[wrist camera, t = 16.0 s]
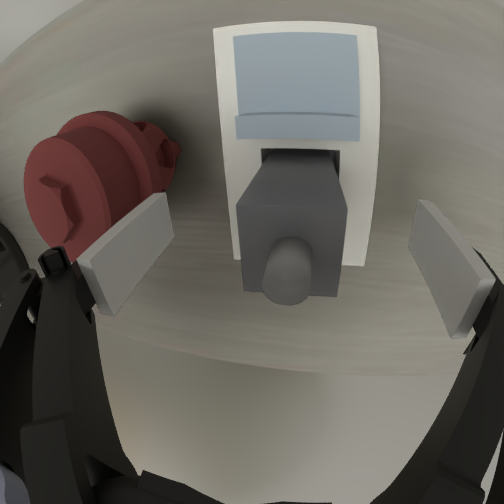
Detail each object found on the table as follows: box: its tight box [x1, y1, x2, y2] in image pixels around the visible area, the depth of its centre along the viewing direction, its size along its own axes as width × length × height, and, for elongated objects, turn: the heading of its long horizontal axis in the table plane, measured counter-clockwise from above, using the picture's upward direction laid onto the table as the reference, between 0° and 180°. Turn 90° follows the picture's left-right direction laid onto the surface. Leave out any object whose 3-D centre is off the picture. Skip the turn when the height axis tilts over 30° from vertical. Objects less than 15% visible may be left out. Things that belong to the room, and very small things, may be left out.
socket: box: [213, 21, 380, 266], centre depth 18 cm, size 10×17×4 cm, turn 3°
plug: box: [236, 148, 348, 305], centre depth 15 cm, size 4×4×14 cm
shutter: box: [233, 32, 360, 142], centre depth 12 cm, size 7×6×4 cm
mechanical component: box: [24, 111, 181, 263], centre depth 17 cm, size 12×10×10 cm
